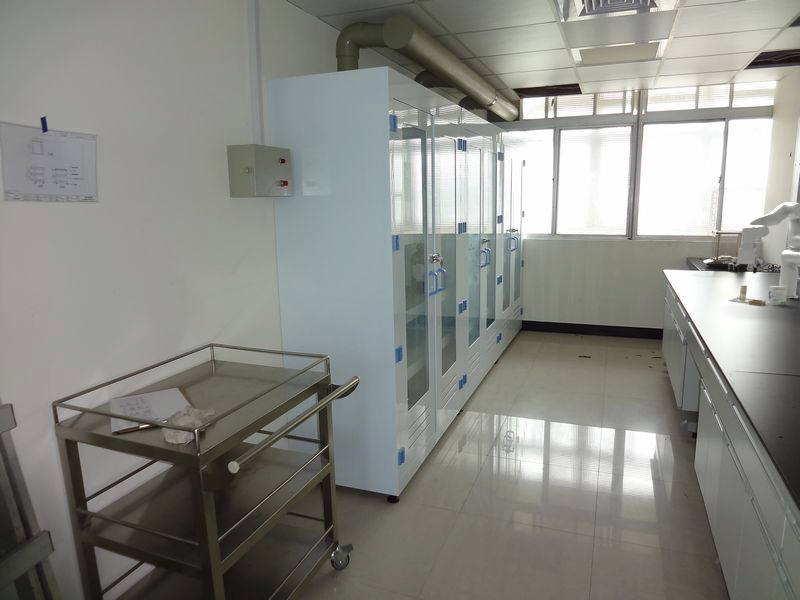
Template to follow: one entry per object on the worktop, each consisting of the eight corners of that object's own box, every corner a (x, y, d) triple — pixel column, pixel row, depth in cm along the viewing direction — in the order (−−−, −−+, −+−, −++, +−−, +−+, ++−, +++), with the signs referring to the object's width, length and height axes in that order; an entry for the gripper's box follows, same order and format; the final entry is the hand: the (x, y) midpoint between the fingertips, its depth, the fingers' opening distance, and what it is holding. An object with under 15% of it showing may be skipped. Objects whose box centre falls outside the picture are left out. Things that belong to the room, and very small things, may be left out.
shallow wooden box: (752, 303, 343) (752, 299, 342) (765, 305, 338) (765, 300, 337) (748, 305, 338) (749, 300, 338) (761, 306, 333) (762, 302, 333)
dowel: (740, 300, 352) (741, 284, 350) (746, 300, 349) (747, 285, 347) (738, 300, 349) (740, 285, 348) (744, 301, 347) (746, 286, 345)
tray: (735, 299, 357) (736, 297, 357) (754, 301, 349) (755, 299, 349) (729, 301, 350) (729, 299, 349) (748, 304, 341) (748, 301, 341)
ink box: (771, 305, 336) (773, 287, 334) (766, 304, 341) (768, 285, 339) (786, 305, 335) (788, 286, 333) (781, 304, 340) (783, 285, 338)
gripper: (765, 246, 339) (763, 273, 342) (734, 244, 352) (732, 271, 355) (761, 247, 334) (759, 274, 337) (730, 246, 347) (728, 272, 350)
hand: (745, 272), depth 346 cm, fingers open, 9 cm apart
